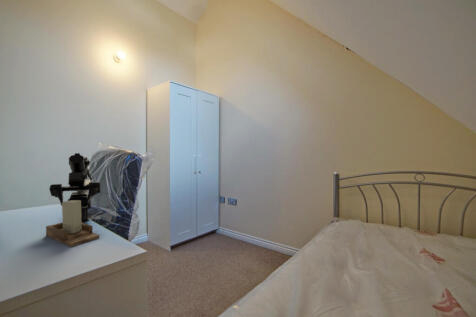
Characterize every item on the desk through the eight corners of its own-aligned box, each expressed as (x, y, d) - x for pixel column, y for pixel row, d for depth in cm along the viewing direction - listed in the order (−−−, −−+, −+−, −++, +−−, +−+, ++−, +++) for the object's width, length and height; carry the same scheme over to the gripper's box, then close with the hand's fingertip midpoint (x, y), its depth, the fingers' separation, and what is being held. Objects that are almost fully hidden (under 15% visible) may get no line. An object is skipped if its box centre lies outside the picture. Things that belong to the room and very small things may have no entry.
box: (82, 230, 90) (82, 200, 90) (72, 234, 86) (72, 202, 86) (71, 229, 91) (71, 199, 91) (61, 233, 87) (61, 202, 87)
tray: (73, 228, 98) (73, 219, 98) (99, 237, 88) (99, 228, 88) (46, 235, 89) (46, 226, 89) (70, 247, 79) (70, 236, 79)
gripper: (50, 166, 95) (43, 195, 85) (100, 165, 104) (99, 191, 95) (54, 182, 101) (48, 210, 92) (100, 180, 111) (100, 205, 102)
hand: (74, 203), depth 95 cm, fingers open, 9 cm apart
